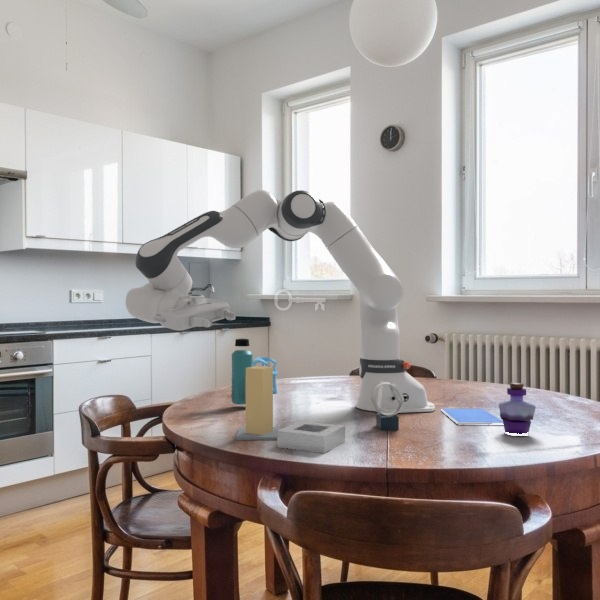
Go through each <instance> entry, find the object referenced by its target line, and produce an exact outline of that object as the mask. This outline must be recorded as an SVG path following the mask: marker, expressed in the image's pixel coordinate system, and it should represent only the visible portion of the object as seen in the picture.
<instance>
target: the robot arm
mask: <svg viewBox="0 0 600 600" xmlns="http://www.w3.org/2000/svg"><path fill="white" fill-rule="evenodd" d="M267 229H268V230H269V231H270V232H272V233H273V234H275V235H276V236H277V237H278V238H280V239H281V240H283V241H286V242H296V241H299V240H300V239H302V238H303V237H304V236H305V235H307V234H308V233H312V234H314V235H315V236H317V237H318V238H319V239H320V240H321V241H322V243H323V245H324V246H325V248H326V249H327V251H328V252H329V254H330V255H331V256H332V258H333V259H334V261H335V263H337V265H338V267H339V268H340V269H341V271H342V272H343V273H344V274H345V276H346V277H347V279H349V281H350V282H351V283H352V285H353V286H354V287H355V289H357V291H358V292H359V293H358V294H359V295H358V296H359V298H358V299H359V316H360V317H359V318H360V328H361V329H360V330H361V336H360V337H361V338H360V340H361V347H360V348H361V350H360V351H361V353H360V355H361V357H360V358H359V365H358V367H359V368H358V369H359V372H358V373H359V377H360V382H359V383H360V384H359V391H358V395H357V400H356V403H355V407H356V408H357V409H360V410H363V411H370V412H376V413H378V412H377V410H376V409H375V407H374V406H373V403H372V401H371V393H372V391H373V389H374V387H375V386H377V385H378V384H380V383H383V382H388V383H391V384H392V385H393V384H395V385H396V386H397V387H398V389H399V390H400V392H401V393H402V395H403V397H404V401H403V407H402V409H401V410H400V411H399V413H400V414H401V413H403V414H404V413H427V412H429V413H430V412H434V411H435V410H436V405H435V404H434V403H433V402H431V401H428V397H427V396H428V395H427V392H426V388H425V386H424V385H423V384H422V383H421V382H419V381H418V380H417V379H416V378H415V377H413V376H412V375H411V374H409V373H408V370H409V369H410V368H411V366H412V365H411V363H410V361H406V360H403V359H402V358H400V357H401V356H400V355H401V354H400V352H401V348H400V344H401V343H400V340H401V339H400V336H401V335H400V334H401V332H400V326H399V319H398V306H399V304H400V303H401V302H402V300H403V297H404V287H403V286H404V285H403V284H402V281H401V280H400V278H398V276H397V275H396V273H395V272H394V271H393V270H392V268H391V267H390V266H389V265H388V264H387V262H386V261H385V260H384V259H383V257H382V256H381V255H380V254H379V253H378V252H377V250H376V249H375V248H374V247H373V246H372V244H371V242H370V241H369V240H368V238H367V237H366V235H365V233H363V231H362V230H361V229H360V227H359V226H358V224H357V223H356V222H355V220H354V219H353V218H352V217H351V216H350V214H349V213H348V212H347V211H346V210H345V209H344V208H343V207H342V206H341V205H340V204H339V203H338V202H336V201H328V202H324V201H323V200H321V199H319V198H317V197H316V196H315V195H314V194H312V193H311V192H309V191H307V190H303V189H302V190H296V191H293V192H290V193H288V195H286V196H285V197H284V199H283V201H282V200H279V199H276V198H275V196H274V195H273V194H271V193H270V192H269V191H267V190H265V189H258V190H255V191H253V192H251V193H249V194H247V195H246V196H244V197H242V198H241V199H239V200H238V201H237V202H235V203H233V204H232V205H231V206H229V208H227V209H225V210H222V211H217V210H209V211H206V212H204V213H202V214H200V215H198V216H196V217H194V218H192V219H190V220H188V221H187V222H185V223H183V224H181V225H180V226H178V227H176V228H175V229H172V230H171V231H169V232H168V233H166V234H163V235H162V236H160V237H156V238H154V239H151V240H149V241H147V242H145V243H144V244H142V245H141V246H140V247H139V249H138V251H137V254H136V257H135V267H136V269H137V270H138V271H139V272H140V273H141V274H142V275H143V276H144V277H145V278H146V279H147V280H148V283H146V284H144V285H142V286H139V287H133V288H130V289H129V290H128V292H127V293H126V295H125V307H126V310H127V312H128V313H129V315H131V316H132V317H134V318H135V319H138V320H141V321H143V322H147V323H151V324H160V325H161V326H162V327H164V328H167V329H170V330H174V331H180V332H181V331H186V330H188V329H191V328H196V327H198V328H199V327H200V328H201V327H202V328H210V327H212V326H213V323H214V322H216V321H220V320H224V319H226V320H227V321H233V320H234V321H235V320H236V317H237V316H236V312H233V311H231V310H230V309H231V306H230V304H229V303H227V302H226V301H222V300H218V299H214V298H208V297H207V298H206V297H205V295H203V294H191V291H192V289H193V285H194V281H193V278H192V277H191V275H190V273H189V272H188V270H187V268H185V266H184V265H183V263H182V262H181V260H180V259H179V257H178V254H179V252H180V251H182V250H184V249H185V248H187V247H189V246H190V245H192V244H195V242H197V241H199V240H201V239H202V238H206V237H209V238H212V239H214V240H215V241H217V242H219V243H220V244H222V245H224V246H225V247H228V248H231V249H241V248H244V247H246V246H248V245H249V244H250V243H252V242H253V241H254V240H255V239H256V238H257V237H258V236H260V235H261V234H262V233H263V232H265V231H266V230H267ZM374 396H375V400H376V403H377V405H378V407H379V408H380V409H381V412H383V413H391V412H393V411H395V410H396V409H397V408H398V406H399V403H398V401H397V400H396V399H395V397H394V396H393V394H392V392H391V390H390V386H389V385H384V386H381V387H380V388H378V389H377V390H376V392H375V394H374ZM399 413H398V414H399Z"/></svg>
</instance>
